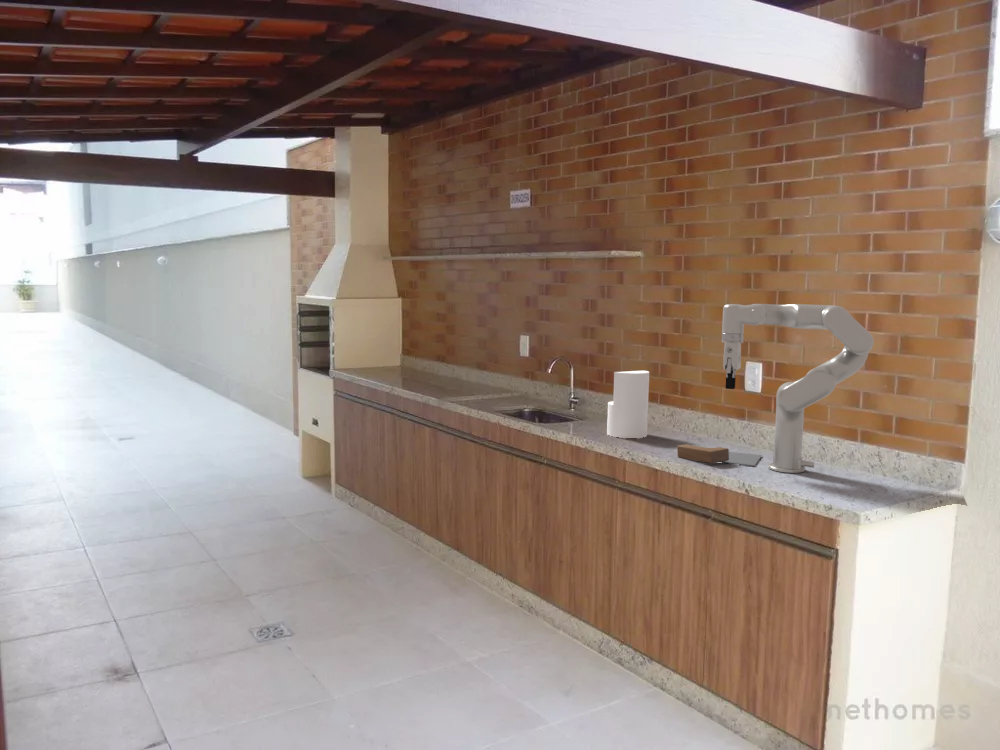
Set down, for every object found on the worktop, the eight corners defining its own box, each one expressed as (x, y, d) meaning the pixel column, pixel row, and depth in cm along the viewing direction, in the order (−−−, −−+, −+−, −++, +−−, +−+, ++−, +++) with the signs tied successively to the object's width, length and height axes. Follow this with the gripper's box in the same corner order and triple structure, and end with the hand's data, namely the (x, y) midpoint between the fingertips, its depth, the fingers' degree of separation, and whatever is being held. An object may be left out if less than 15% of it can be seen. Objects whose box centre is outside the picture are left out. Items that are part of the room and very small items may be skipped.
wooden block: (729, 460, 303) (694, 454, 318) (729, 448, 302) (694, 442, 318) (711, 463, 298) (677, 457, 313) (711, 451, 298) (676, 445, 313)
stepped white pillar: (655, 436, 356) (657, 372, 353) (625, 440, 346) (628, 374, 343) (627, 430, 370) (630, 368, 367) (598, 433, 360) (600, 370, 357)
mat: (761, 456, 317) (761, 455, 317) (754, 466, 299) (754, 465, 299) (709, 451, 326) (709, 449, 326) (699, 461, 307) (699, 459, 307)
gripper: (739, 339, 288) (737, 391, 290) (746, 337, 302) (744, 387, 304) (718, 339, 291) (716, 390, 293) (725, 336, 305) (723, 385, 307)
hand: (730, 388), depth 298 cm, fingers closed
